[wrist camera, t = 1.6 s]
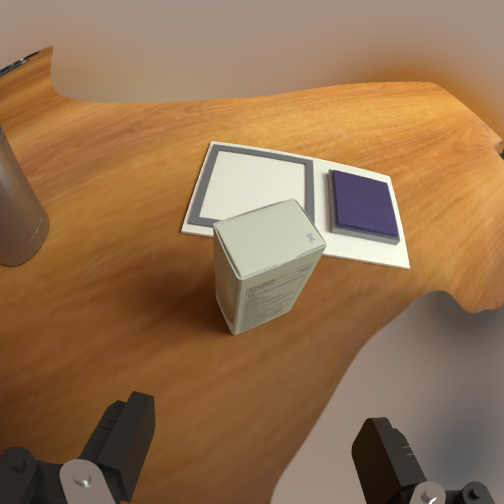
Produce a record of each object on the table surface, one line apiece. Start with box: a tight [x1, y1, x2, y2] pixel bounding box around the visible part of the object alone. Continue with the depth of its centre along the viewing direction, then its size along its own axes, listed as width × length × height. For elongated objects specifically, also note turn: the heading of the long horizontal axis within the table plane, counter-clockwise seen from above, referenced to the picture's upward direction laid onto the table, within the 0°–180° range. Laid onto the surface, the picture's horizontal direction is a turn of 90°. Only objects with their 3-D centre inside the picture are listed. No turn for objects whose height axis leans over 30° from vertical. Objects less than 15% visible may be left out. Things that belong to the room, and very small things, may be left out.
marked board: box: [181, 141, 410, 270], centre depth 36 cm, size 27×16×1 cm, turn 83°
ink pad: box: [327, 169, 400, 245], centre depth 36 cm, size 9×10×2 cm
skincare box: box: [213, 198, 327, 335], centre depth 23 cm, size 6×4×12 cm
